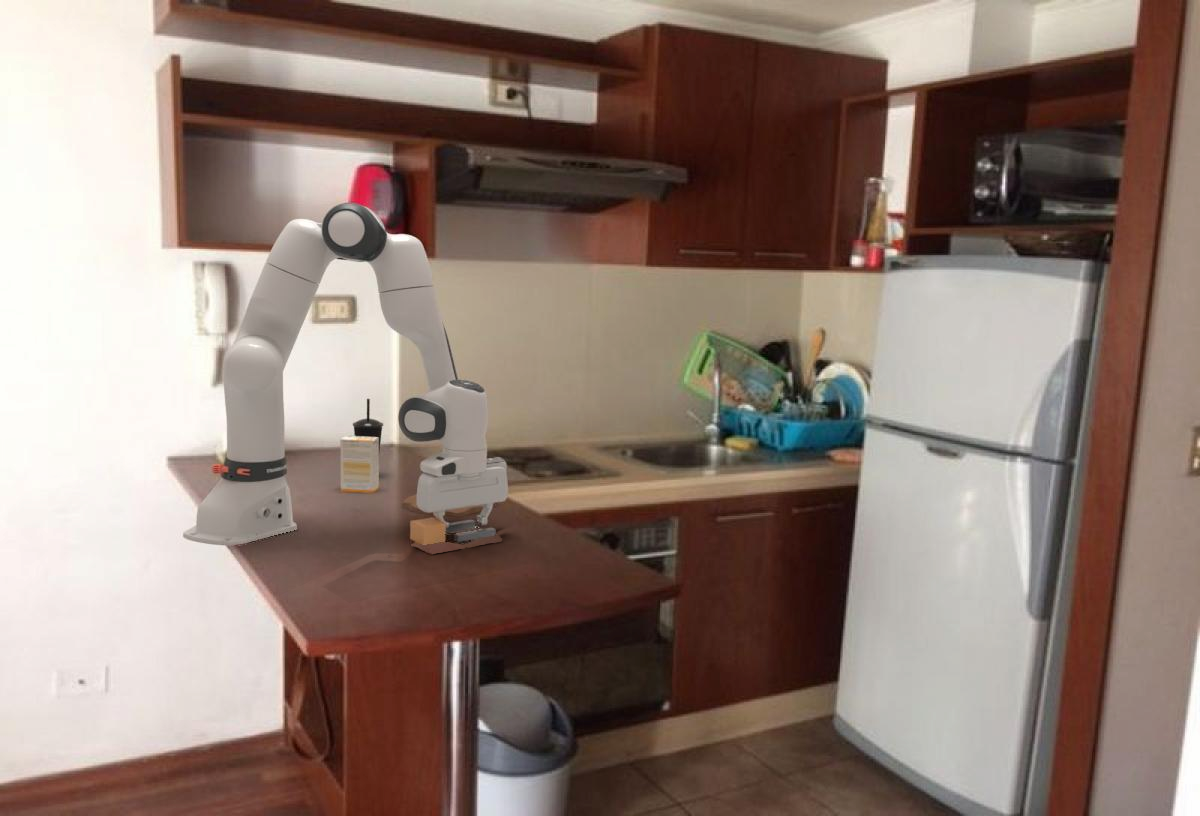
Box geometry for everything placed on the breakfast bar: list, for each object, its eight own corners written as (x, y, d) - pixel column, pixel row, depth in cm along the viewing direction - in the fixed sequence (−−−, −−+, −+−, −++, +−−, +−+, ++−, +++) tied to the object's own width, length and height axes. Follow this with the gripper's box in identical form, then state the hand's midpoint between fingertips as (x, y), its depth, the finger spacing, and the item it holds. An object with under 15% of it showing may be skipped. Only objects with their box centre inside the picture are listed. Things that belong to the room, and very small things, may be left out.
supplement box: (379, 489, 244) (380, 436, 242) (373, 494, 239) (373, 440, 237) (346, 487, 245) (346, 434, 243) (339, 491, 240) (339, 438, 238)
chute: (471, 529, 212) (472, 517, 212) (502, 541, 204) (502, 529, 204) (402, 541, 201) (402, 529, 201) (431, 555, 193) (432, 542, 193)
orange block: (431, 536, 202) (432, 517, 202) (445, 542, 199) (445, 523, 198) (410, 540, 199) (410, 521, 198) (423, 546, 195) (423, 526, 195)
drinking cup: (388, 475, 259) (389, 399, 256) (367, 480, 253) (368, 402, 250) (367, 471, 263) (368, 395, 260) (345, 475, 257) (346, 398, 254)
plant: (387, 513, 224) (387, 464, 222) (434, 496, 241) (435, 450, 240) (464, 526, 216) (466, 475, 214) (507, 507, 234) (509, 460, 232)
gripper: (497, 453, 211) (495, 517, 213) (413, 463, 198) (411, 531, 200) (515, 458, 207) (513, 523, 209) (430, 469, 193) (428, 538, 195)
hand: (463, 527), depth 204 cm, fingers open, 8 cm apart
